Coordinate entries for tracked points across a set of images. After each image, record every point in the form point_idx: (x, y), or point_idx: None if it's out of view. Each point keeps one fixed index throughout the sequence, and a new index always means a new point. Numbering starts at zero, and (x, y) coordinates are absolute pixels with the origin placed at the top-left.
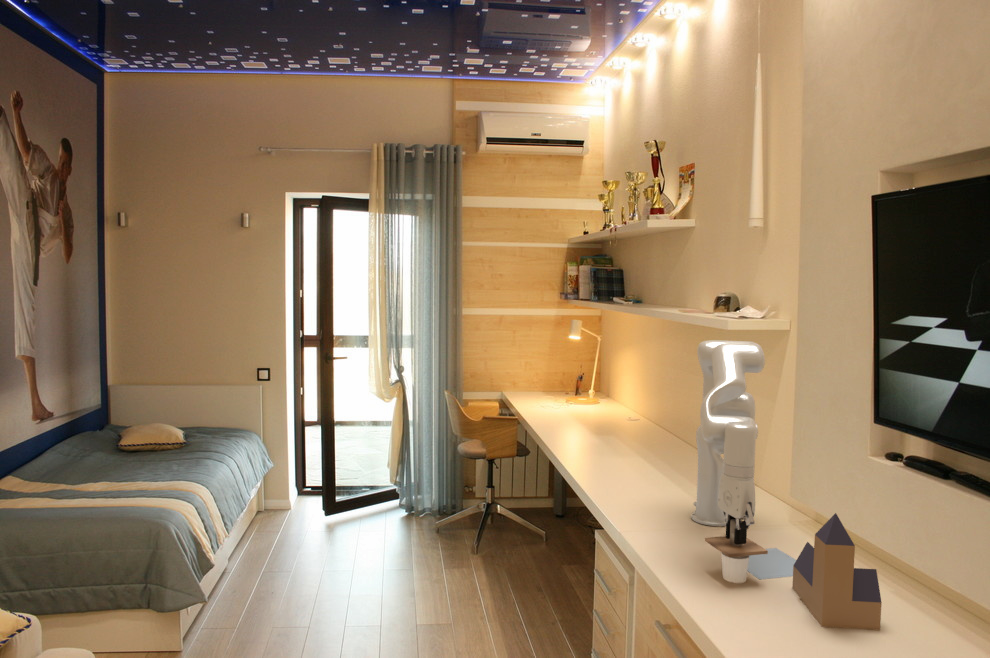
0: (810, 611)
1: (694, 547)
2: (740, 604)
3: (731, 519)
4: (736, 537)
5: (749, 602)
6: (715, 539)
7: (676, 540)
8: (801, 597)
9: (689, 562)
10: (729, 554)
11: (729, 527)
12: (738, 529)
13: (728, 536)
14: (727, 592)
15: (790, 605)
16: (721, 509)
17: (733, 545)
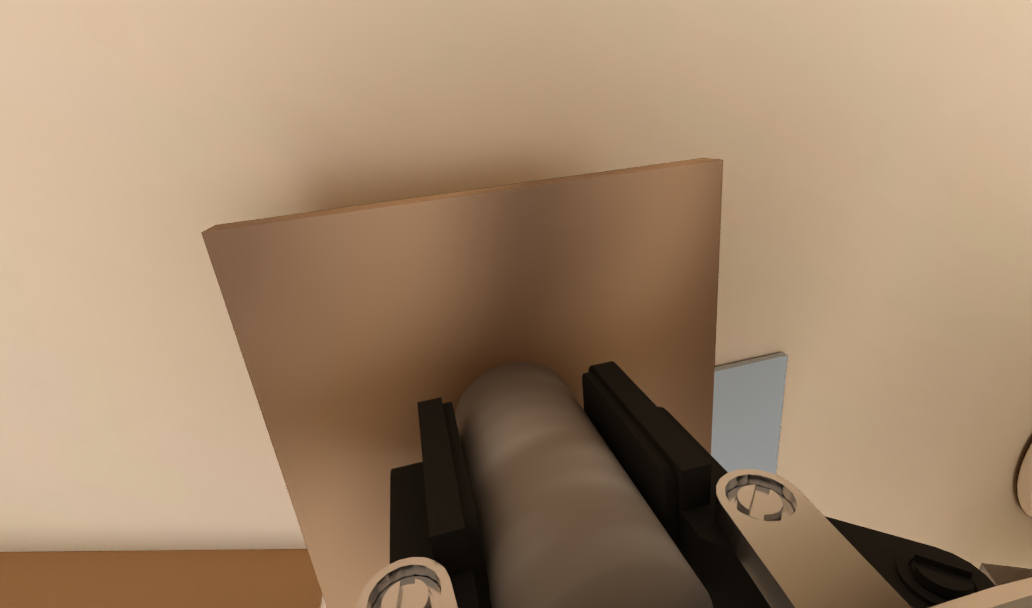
0: (7, 556)
1: (891, 247)
2: (57, 179)
3: (740, 587)
4: (424, 459)
5: (106, 257)
6: (661, 260)
7: (996, 183)
8: (170, 565)
9: (732, 122)
10: (207, 240)
11: (642, 469)
12: (377, 576)
13: (591, 392)
14: (267, 173)
15: (98, 481)
16: (1029, 603)
17: (472, 382)
